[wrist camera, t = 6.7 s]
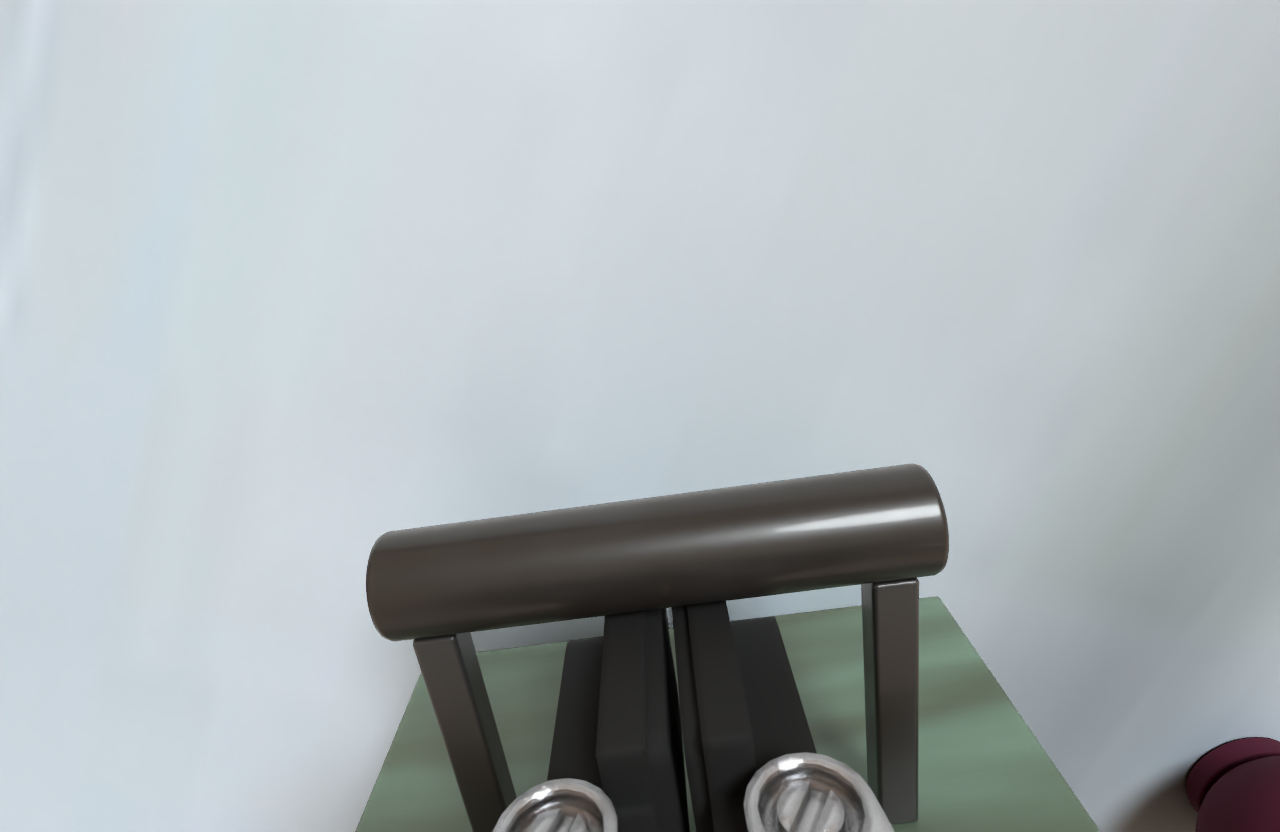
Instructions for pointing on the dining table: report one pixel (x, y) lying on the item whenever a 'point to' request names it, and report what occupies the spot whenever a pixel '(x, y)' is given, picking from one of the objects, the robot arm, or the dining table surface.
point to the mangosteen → (1237, 787)
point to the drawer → (662, 578)
